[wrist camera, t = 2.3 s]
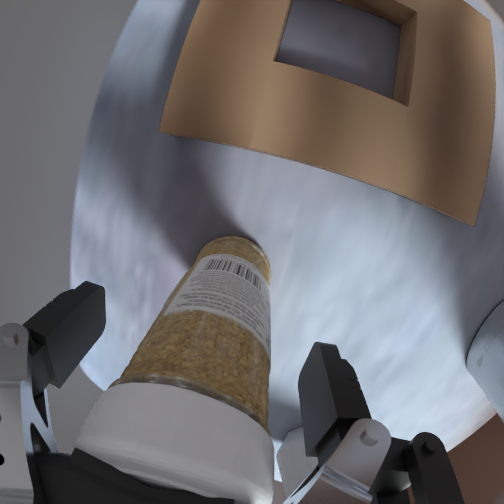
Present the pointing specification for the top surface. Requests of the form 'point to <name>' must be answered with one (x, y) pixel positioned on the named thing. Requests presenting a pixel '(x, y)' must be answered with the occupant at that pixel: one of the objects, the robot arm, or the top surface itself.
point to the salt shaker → (294, 461)
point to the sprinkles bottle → (197, 385)
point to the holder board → (347, 99)
